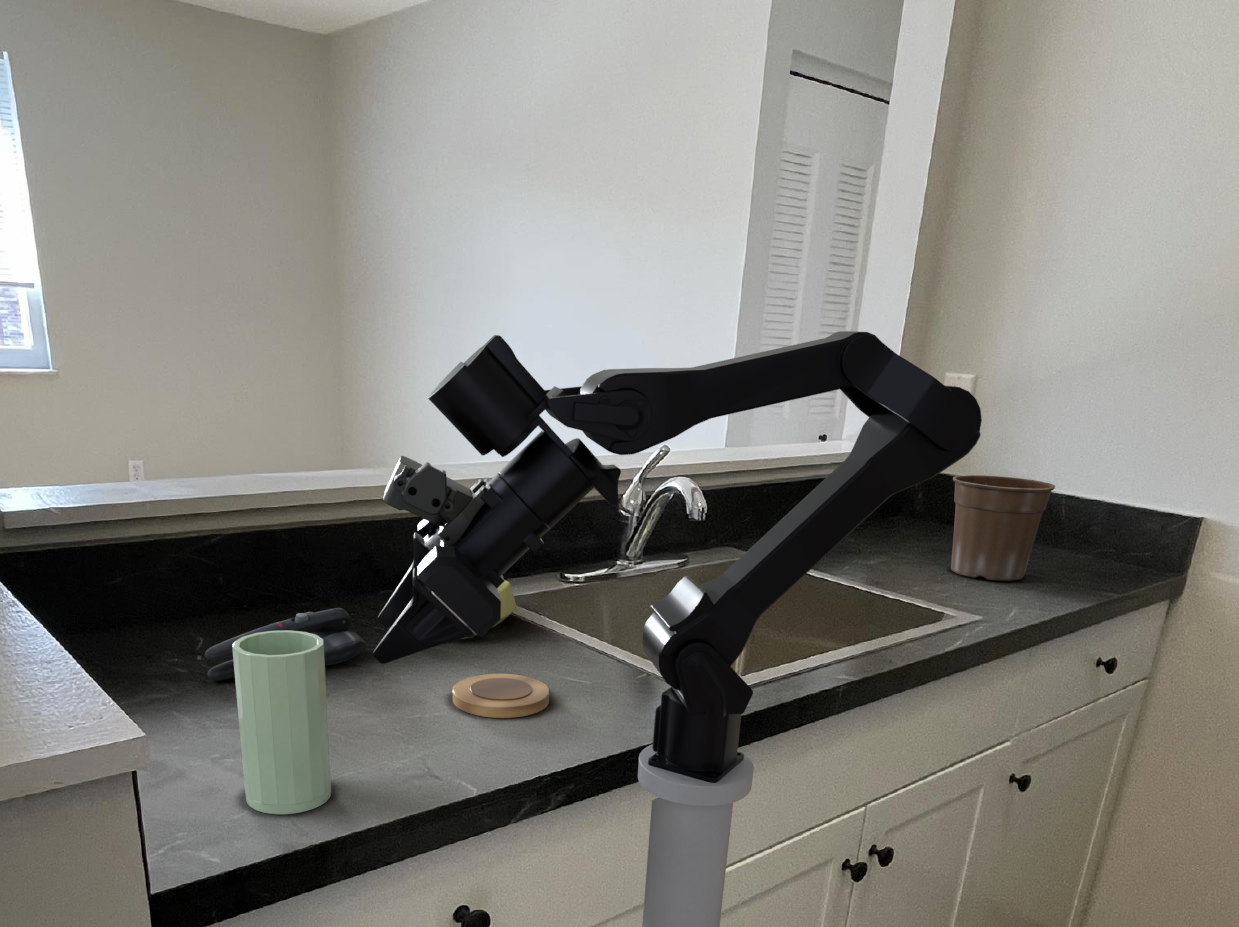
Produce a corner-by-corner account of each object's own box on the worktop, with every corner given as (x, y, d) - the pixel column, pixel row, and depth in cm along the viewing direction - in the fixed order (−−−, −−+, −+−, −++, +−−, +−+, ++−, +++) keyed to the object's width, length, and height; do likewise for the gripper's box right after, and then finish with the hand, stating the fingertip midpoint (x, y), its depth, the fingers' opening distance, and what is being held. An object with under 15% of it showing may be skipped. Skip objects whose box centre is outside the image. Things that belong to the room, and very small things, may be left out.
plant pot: (917, 565, 174) (933, 474, 169) (984, 561, 181) (1001, 473, 175) (986, 588, 161) (1005, 489, 155) (1055, 582, 167) (1076, 487, 162)
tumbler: (348, 791, 80) (341, 641, 76) (287, 822, 75) (276, 662, 70) (291, 771, 83) (281, 625, 79) (228, 799, 78) (213, 644, 73)
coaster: (567, 697, 103) (567, 685, 103) (512, 726, 95) (513, 713, 95) (490, 677, 108) (490, 666, 107) (432, 703, 100) (432, 691, 99)
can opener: (340, 643, 116) (338, 598, 114) (372, 659, 112) (370, 611, 110) (192, 673, 104) (187, 622, 102) (221, 691, 100) (216, 639, 98)
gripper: (445, 409, 79) (311, 541, 81) (452, 434, 62) (283, 600, 64) (538, 508, 84) (409, 631, 85) (569, 557, 66) (407, 710, 68)
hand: (379, 640), depth 76 cm, fingers open, 9 cm apart
